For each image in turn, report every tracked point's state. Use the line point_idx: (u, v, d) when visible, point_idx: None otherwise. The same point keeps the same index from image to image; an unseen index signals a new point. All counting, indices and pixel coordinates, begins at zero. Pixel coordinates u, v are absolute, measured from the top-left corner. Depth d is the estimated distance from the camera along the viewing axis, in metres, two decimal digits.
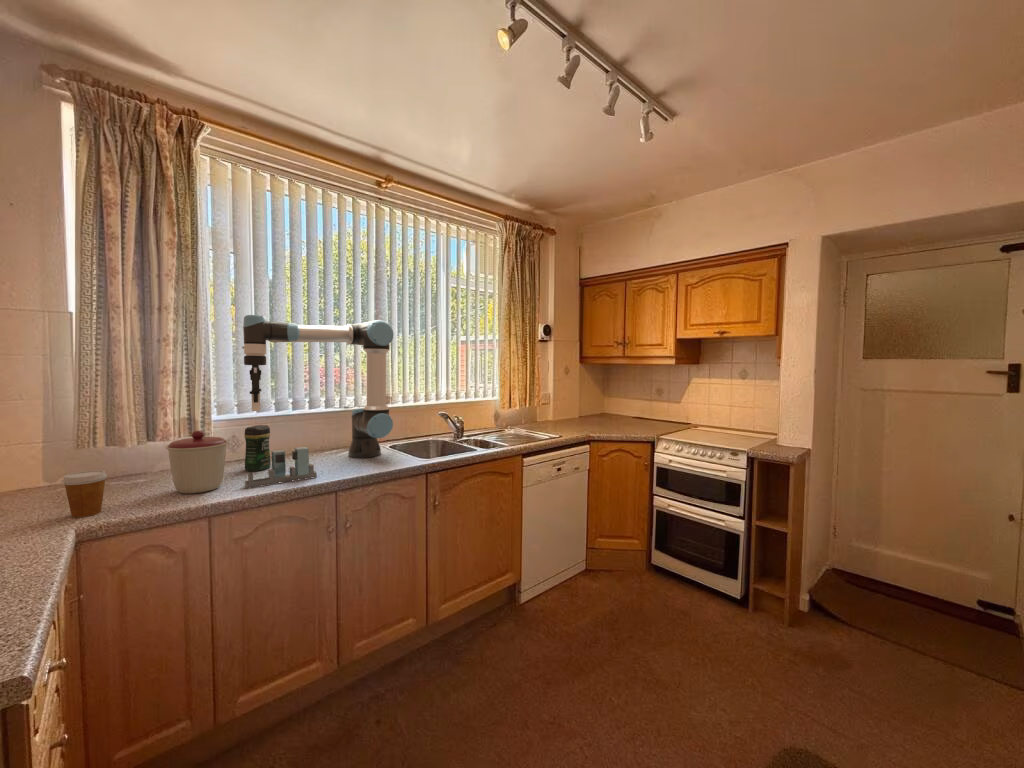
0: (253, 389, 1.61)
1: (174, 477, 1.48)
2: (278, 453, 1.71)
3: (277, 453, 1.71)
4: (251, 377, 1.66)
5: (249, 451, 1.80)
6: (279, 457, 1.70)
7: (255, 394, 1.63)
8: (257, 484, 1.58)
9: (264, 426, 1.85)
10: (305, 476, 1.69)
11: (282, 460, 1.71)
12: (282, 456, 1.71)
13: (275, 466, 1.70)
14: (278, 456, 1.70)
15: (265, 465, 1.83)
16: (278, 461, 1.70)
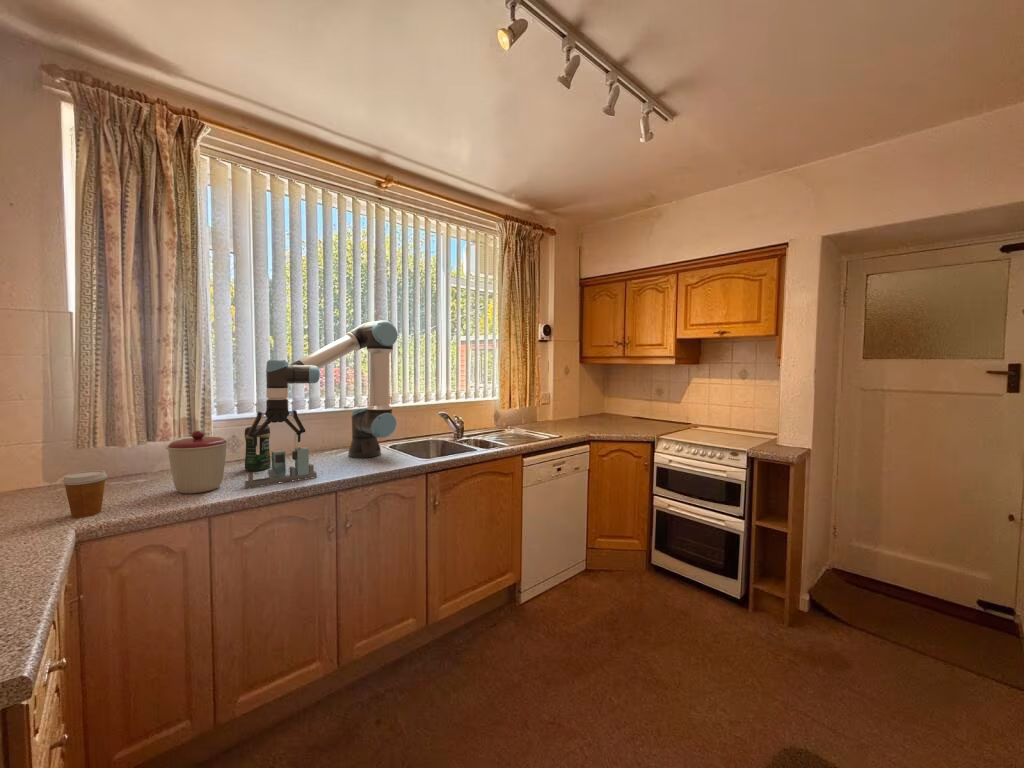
0: (248, 433, 1.66)
1: (174, 477, 1.48)
2: (278, 453, 1.71)
3: (277, 453, 1.71)
4: (265, 420, 1.70)
5: (249, 451, 1.80)
6: (279, 457, 1.70)
7: None
8: (257, 484, 1.58)
9: None
10: (305, 476, 1.69)
11: (282, 460, 1.71)
12: (282, 456, 1.71)
13: (275, 466, 1.70)
14: (278, 456, 1.70)
15: (265, 465, 1.83)
16: (278, 461, 1.70)
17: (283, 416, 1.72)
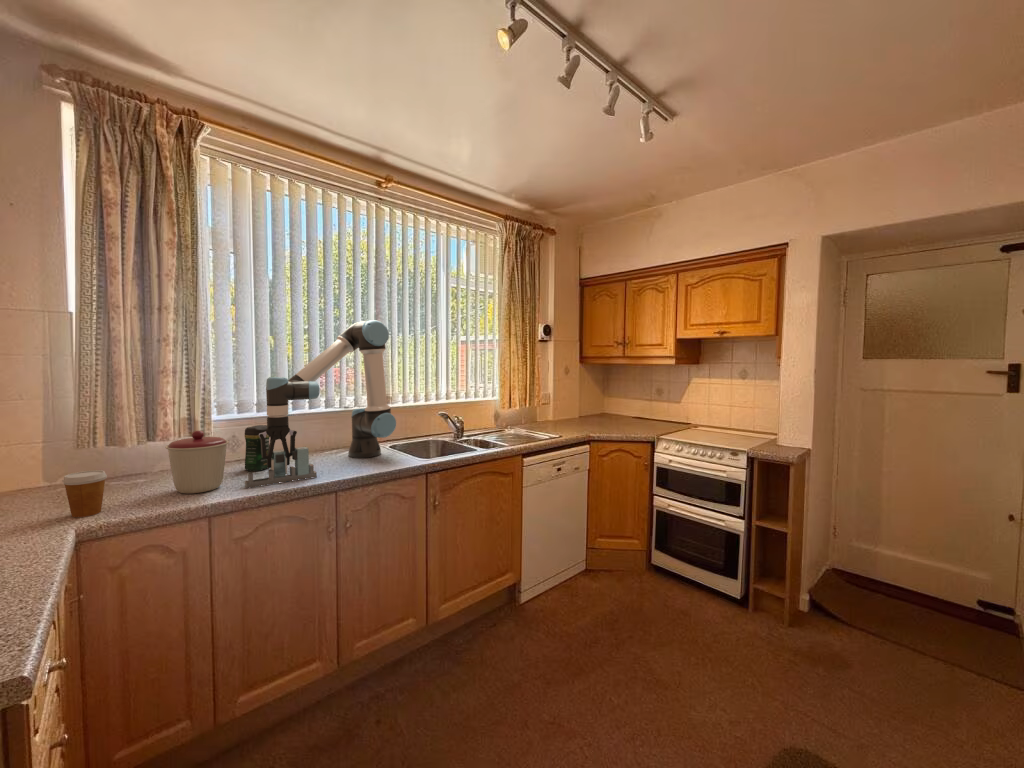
0: None
1: (174, 477, 1.48)
2: (278, 453, 1.71)
3: (277, 453, 1.71)
4: (270, 440, 1.72)
5: (249, 451, 1.80)
6: (279, 457, 1.70)
7: (267, 460, 1.70)
8: (257, 484, 1.58)
9: (264, 426, 1.85)
10: (305, 476, 1.69)
11: (282, 460, 1.71)
12: (282, 456, 1.71)
13: (275, 466, 1.70)
14: (278, 456, 1.70)
15: (265, 465, 1.83)
16: (278, 461, 1.70)
17: (283, 434, 1.72)
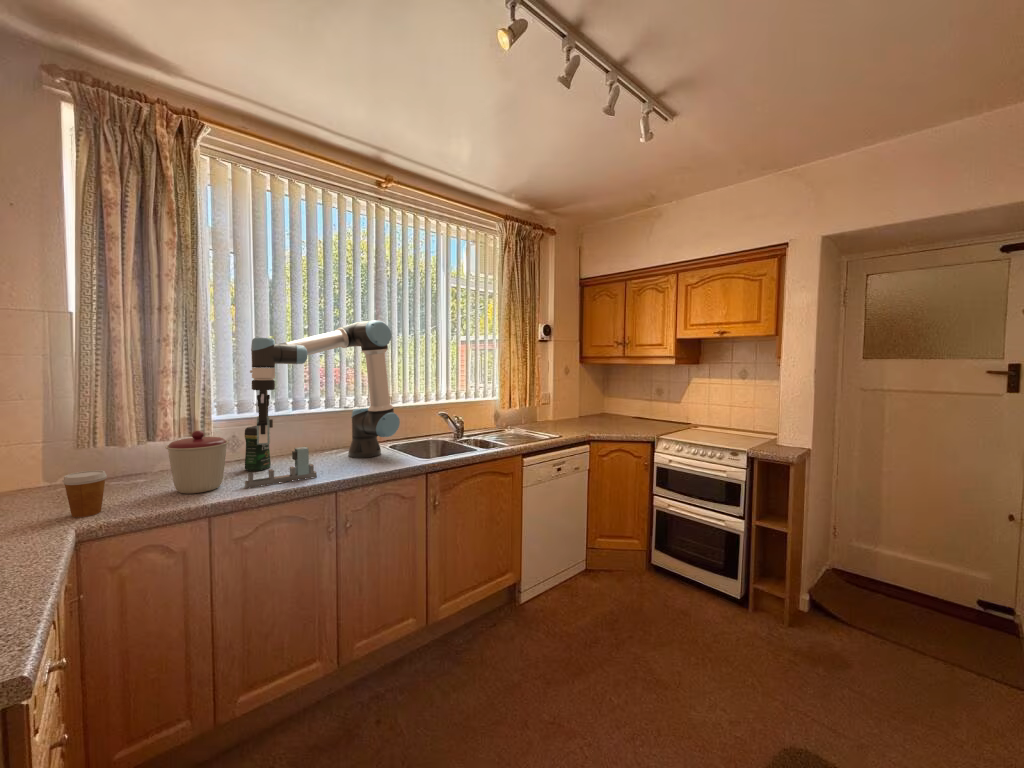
0: (260, 422, 1.57)
1: (174, 477, 1.48)
2: (269, 418, 1.63)
3: (269, 418, 1.63)
4: (258, 405, 1.59)
5: (249, 451, 1.80)
6: (272, 421, 1.64)
7: (262, 426, 1.59)
8: (257, 484, 1.58)
9: None
10: (305, 476, 1.69)
11: None
12: None
13: (269, 431, 1.62)
14: (272, 420, 1.63)
15: (265, 466, 1.83)
16: (272, 426, 1.63)
17: (269, 398, 1.64)
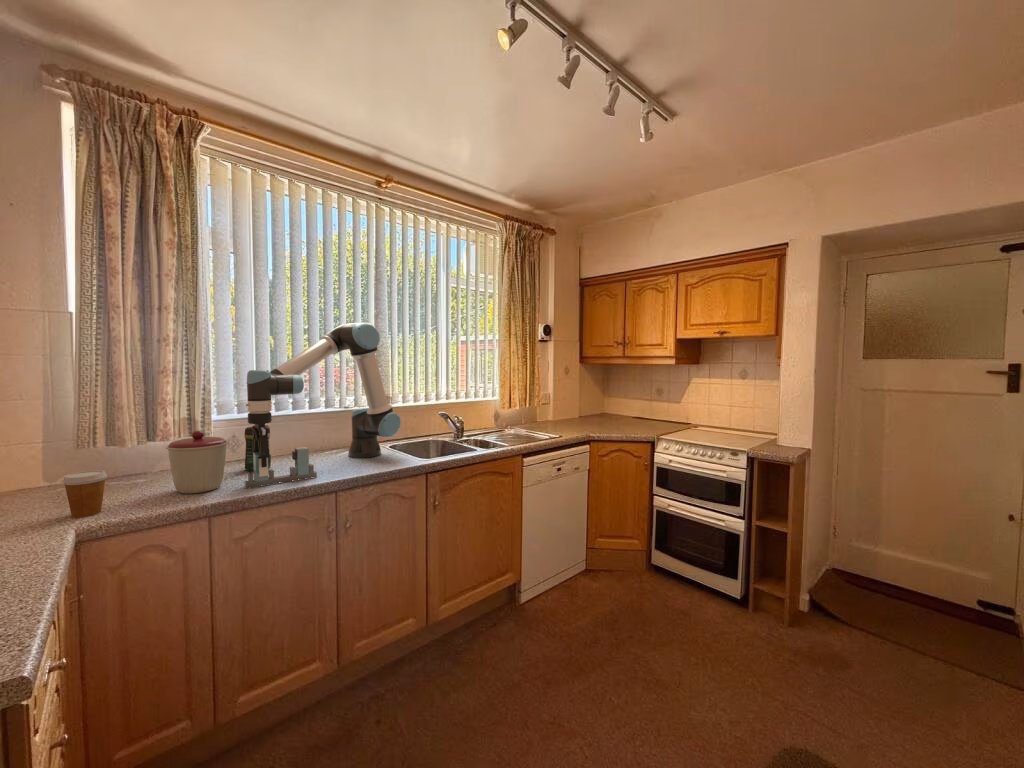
0: (263, 454, 1.53)
1: (174, 477, 1.48)
2: None
3: None
4: (257, 438, 1.56)
5: (249, 451, 1.80)
6: None
7: (264, 459, 1.55)
8: (257, 484, 1.58)
9: None
10: (305, 476, 1.69)
11: None
12: (269, 455, 1.62)
13: None
14: None
15: None
16: None
17: None
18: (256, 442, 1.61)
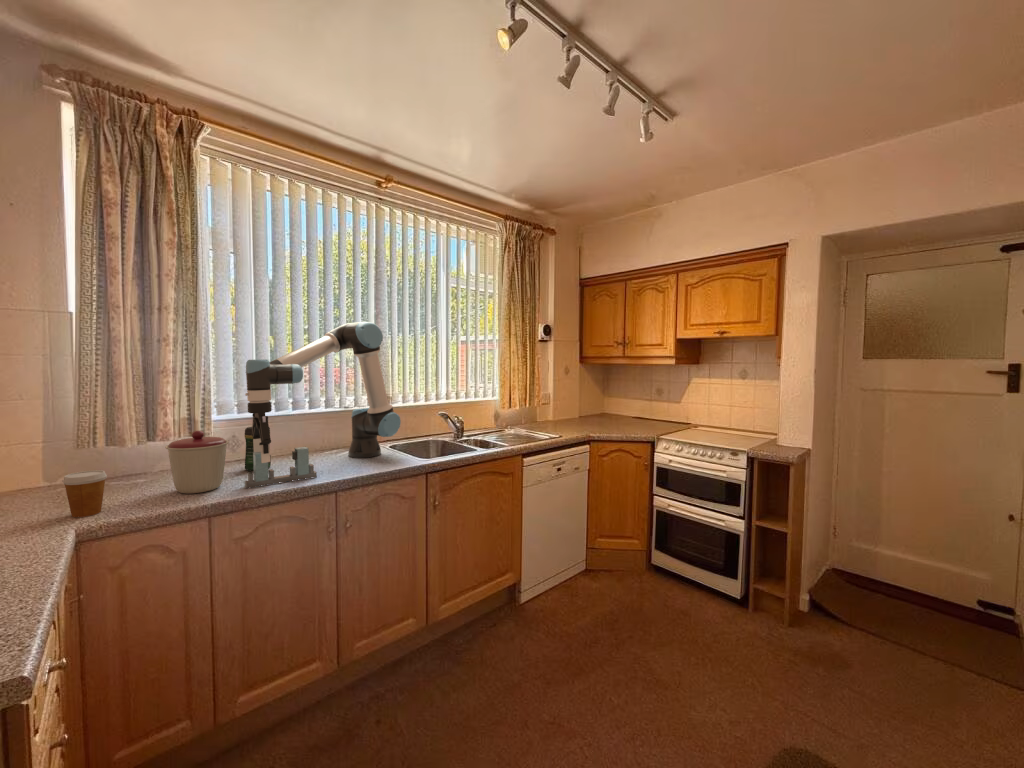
0: (264, 440, 1.52)
1: (174, 477, 1.48)
2: None
3: None
4: (258, 426, 1.56)
5: (249, 451, 1.80)
6: None
7: (265, 445, 1.53)
8: (257, 484, 1.58)
9: None
10: (305, 476, 1.69)
11: None
12: None
13: None
14: None
15: None
16: None
17: None
18: (256, 430, 1.62)
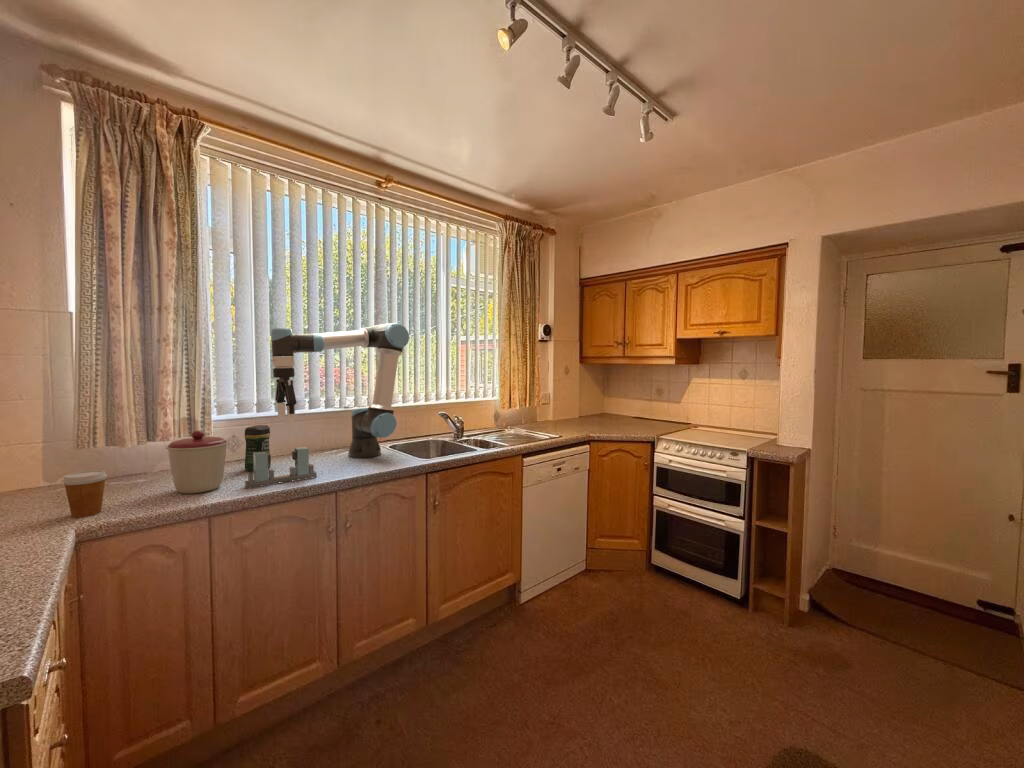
0: (290, 401, 1.66)
1: (174, 477, 1.48)
2: None
3: None
4: (284, 389, 1.70)
5: (249, 451, 1.80)
6: None
7: (291, 406, 1.68)
8: (257, 484, 1.58)
9: (264, 426, 1.85)
10: (305, 476, 1.69)
11: None
12: None
13: None
14: None
15: None
16: None
17: None
18: (280, 394, 1.76)
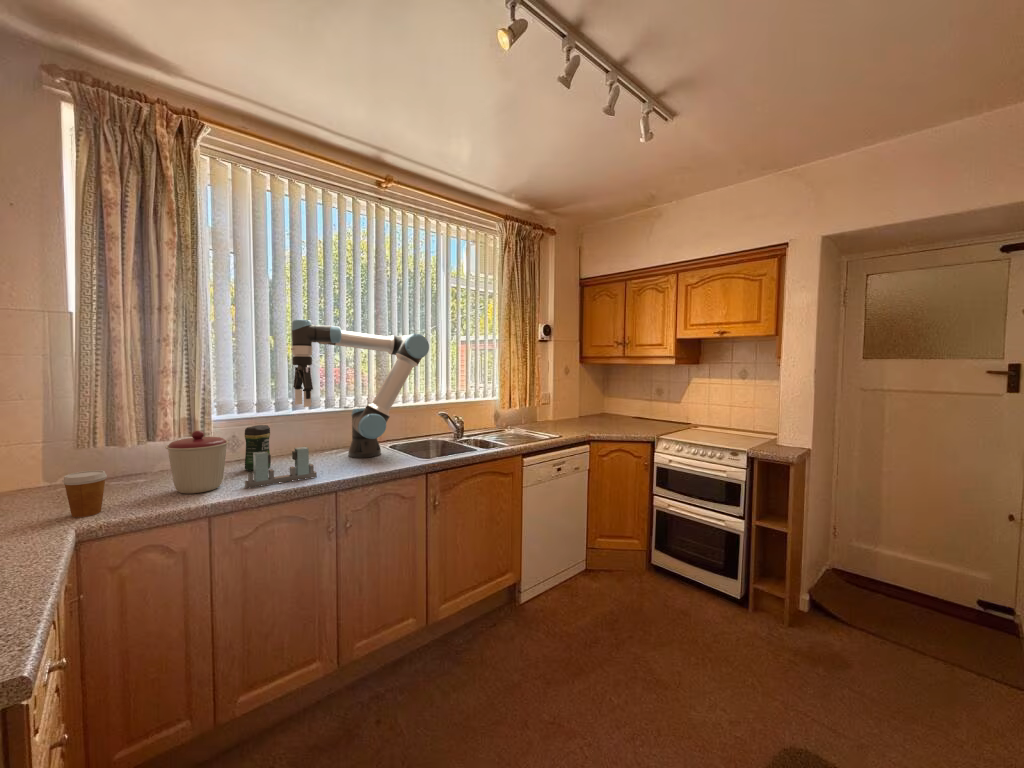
0: (307, 387, 1.79)
1: (174, 477, 1.48)
2: None
3: None
4: (301, 376, 1.83)
5: (249, 451, 1.80)
6: None
7: (308, 391, 1.80)
8: (257, 484, 1.58)
9: (264, 426, 1.85)
10: (305, 476, 1.69)
11: None
12: None
13: None
14: None
15: None
16: None
17: None
18: (298, 381, 1.90)
